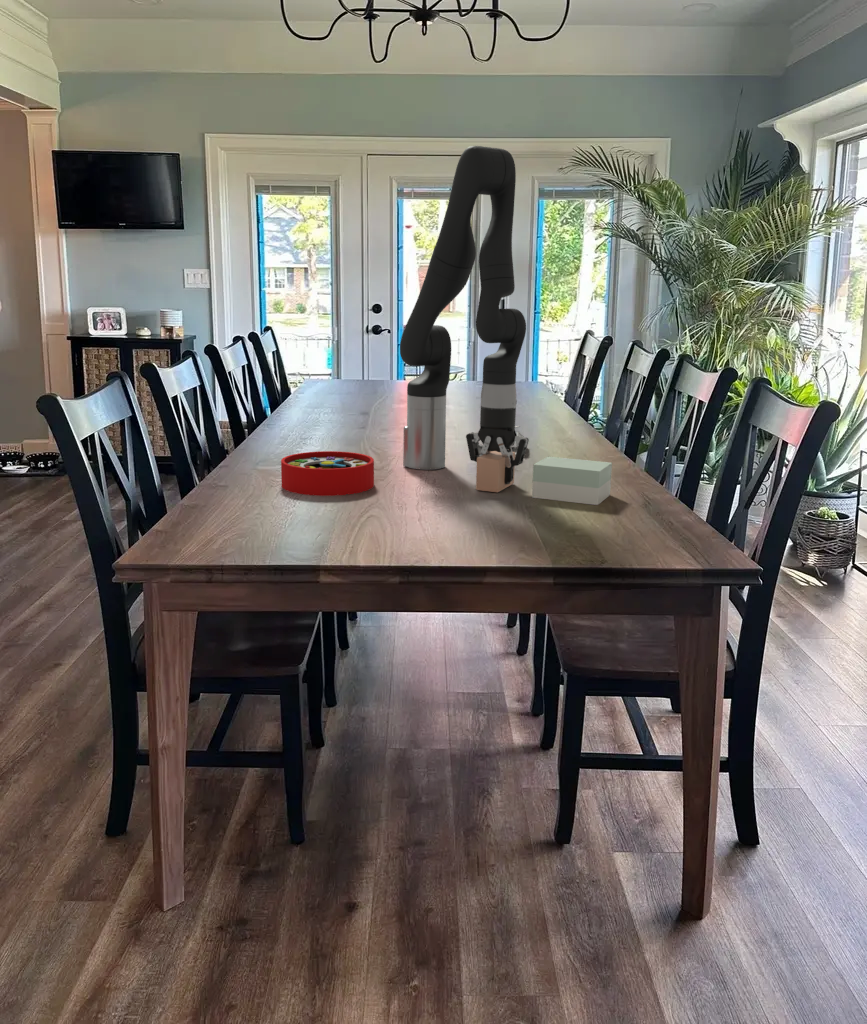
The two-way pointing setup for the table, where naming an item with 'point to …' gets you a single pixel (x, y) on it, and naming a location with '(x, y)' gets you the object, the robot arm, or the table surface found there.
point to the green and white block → (571, 480)
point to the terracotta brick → (492, 472)
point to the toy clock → (327, 473)
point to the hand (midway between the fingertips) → (495, 481)
